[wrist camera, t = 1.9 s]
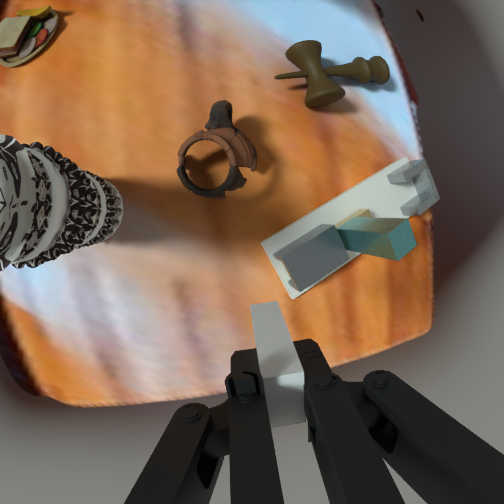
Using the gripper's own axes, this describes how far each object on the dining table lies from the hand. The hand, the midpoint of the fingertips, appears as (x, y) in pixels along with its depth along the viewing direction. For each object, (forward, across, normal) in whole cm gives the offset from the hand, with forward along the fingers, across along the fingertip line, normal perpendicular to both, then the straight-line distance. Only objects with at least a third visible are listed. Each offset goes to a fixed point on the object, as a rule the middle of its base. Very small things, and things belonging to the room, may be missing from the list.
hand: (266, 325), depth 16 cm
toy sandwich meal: (+22, -32, +40) cm, 56 cm away
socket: (+28, +27, +4) cm, 39 cm away
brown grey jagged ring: (+24, -2, +12) cm, 27 cm away
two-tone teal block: (+24, +11, -2) cm, 26 cm away
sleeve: (+24, +8, -3) cm, 26 cm away
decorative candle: (+21, -19, +8) cm, 29 cm away
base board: (+26, +16, 0) cm, 30 cm away
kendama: (+29, +16, +23) cm, 40 cm away
